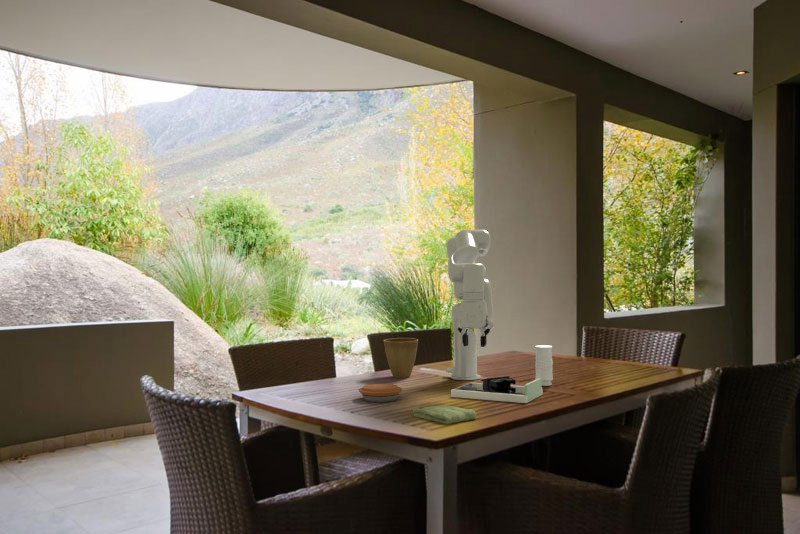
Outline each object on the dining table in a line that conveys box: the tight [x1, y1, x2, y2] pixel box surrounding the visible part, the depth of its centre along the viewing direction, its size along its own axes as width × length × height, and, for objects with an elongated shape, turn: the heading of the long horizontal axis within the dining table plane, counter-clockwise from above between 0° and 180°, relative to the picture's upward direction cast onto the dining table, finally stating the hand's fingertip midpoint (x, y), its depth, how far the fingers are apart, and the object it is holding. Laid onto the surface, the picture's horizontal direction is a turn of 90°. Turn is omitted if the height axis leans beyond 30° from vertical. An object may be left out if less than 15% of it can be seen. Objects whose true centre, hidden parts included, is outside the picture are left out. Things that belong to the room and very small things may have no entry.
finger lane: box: [450, 378, 544, 404], centre depth 242 cm, size 28×18×6 cm, turn 61°
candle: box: [534, 344, 554, 387], centre depth 265 cm, size 7×7×15 cm
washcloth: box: [412, 404, 478, 425], centre depth 207 cm, size 13×18×3 cm
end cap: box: [482, 375, 517, 394], centre depth 242 cm, size 10×7×7 cm
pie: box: [358, 383, 403, 403], centre depth 239 cm, size 15×16×5 cm
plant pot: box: [383, 337, 419, 379], centre depth 290 cm, size 15×15×16 cm
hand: (474, 345), depth 246 cm, fingers open, 6 cm apart
